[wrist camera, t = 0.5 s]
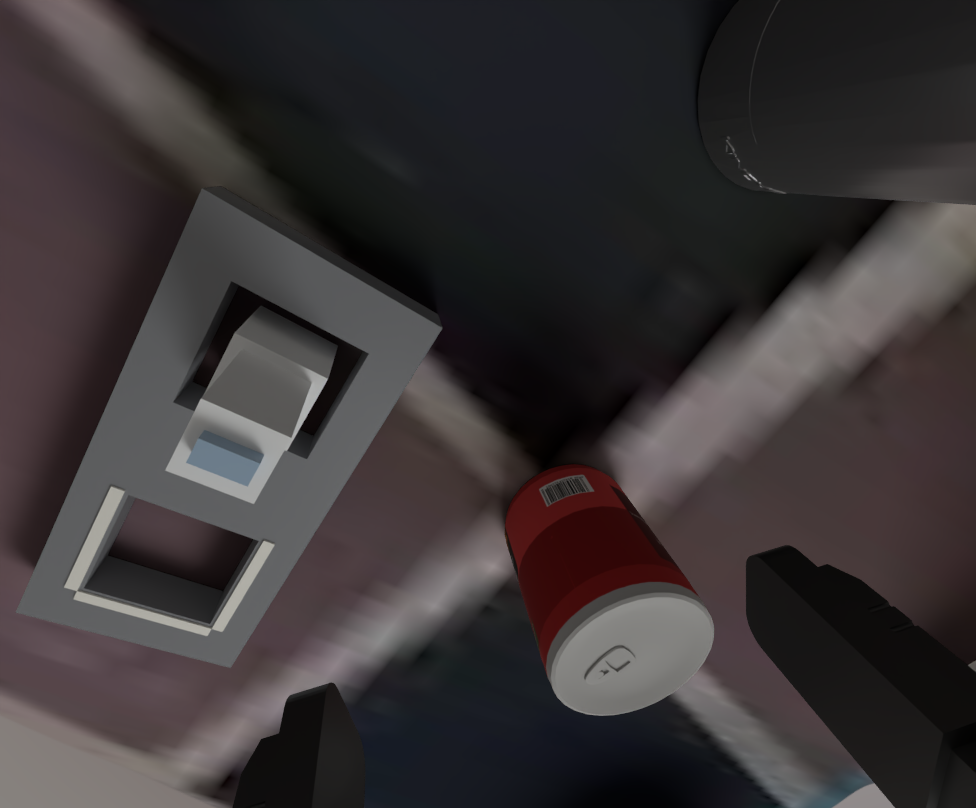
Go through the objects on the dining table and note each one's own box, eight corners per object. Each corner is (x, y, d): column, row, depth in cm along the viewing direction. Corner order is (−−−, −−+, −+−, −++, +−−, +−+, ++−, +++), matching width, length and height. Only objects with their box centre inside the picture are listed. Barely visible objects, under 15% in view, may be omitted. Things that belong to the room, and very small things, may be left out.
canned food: (477, 535, 32) (515, 694, 23) (553, 438, 30) (631, 567, 21) (568, 576, 35) (636, 733, 25) (643, 490, 33) (749, 625, 23)
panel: (220, 186, 22) (201, 188, 20) (438, 314, 26) (442, 328, 24) (45, 577, 29) (14, 614, 26) (241, 633, 32) (230, 669, 30)
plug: (260, 305, 25) (184, 385, 15) (338, 345, 26) (309, 441, 17) (226, 373, 26) (135, 485, 16) (302, 408, 27) (257, 530, 18)
